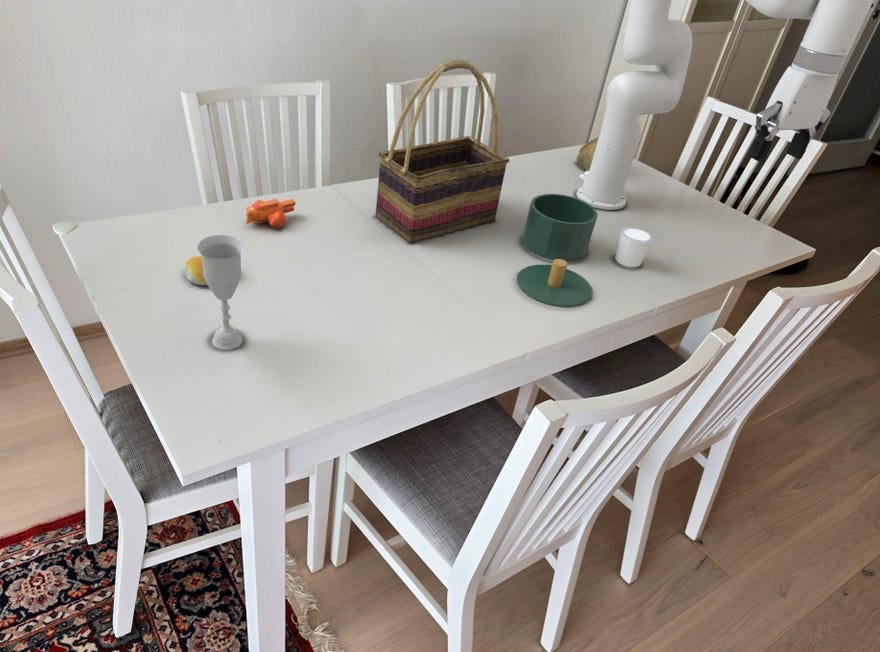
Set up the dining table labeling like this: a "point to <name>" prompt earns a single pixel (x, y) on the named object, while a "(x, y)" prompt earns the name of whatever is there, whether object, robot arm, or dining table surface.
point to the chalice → (222, 281)
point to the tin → (559, 227)
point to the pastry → (587, 154)
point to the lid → (554, 284)
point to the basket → (440, 175)
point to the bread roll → (195, 271)
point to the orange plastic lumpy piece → (269, 212)
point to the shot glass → (632, 246)
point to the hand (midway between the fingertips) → (774, 157)
